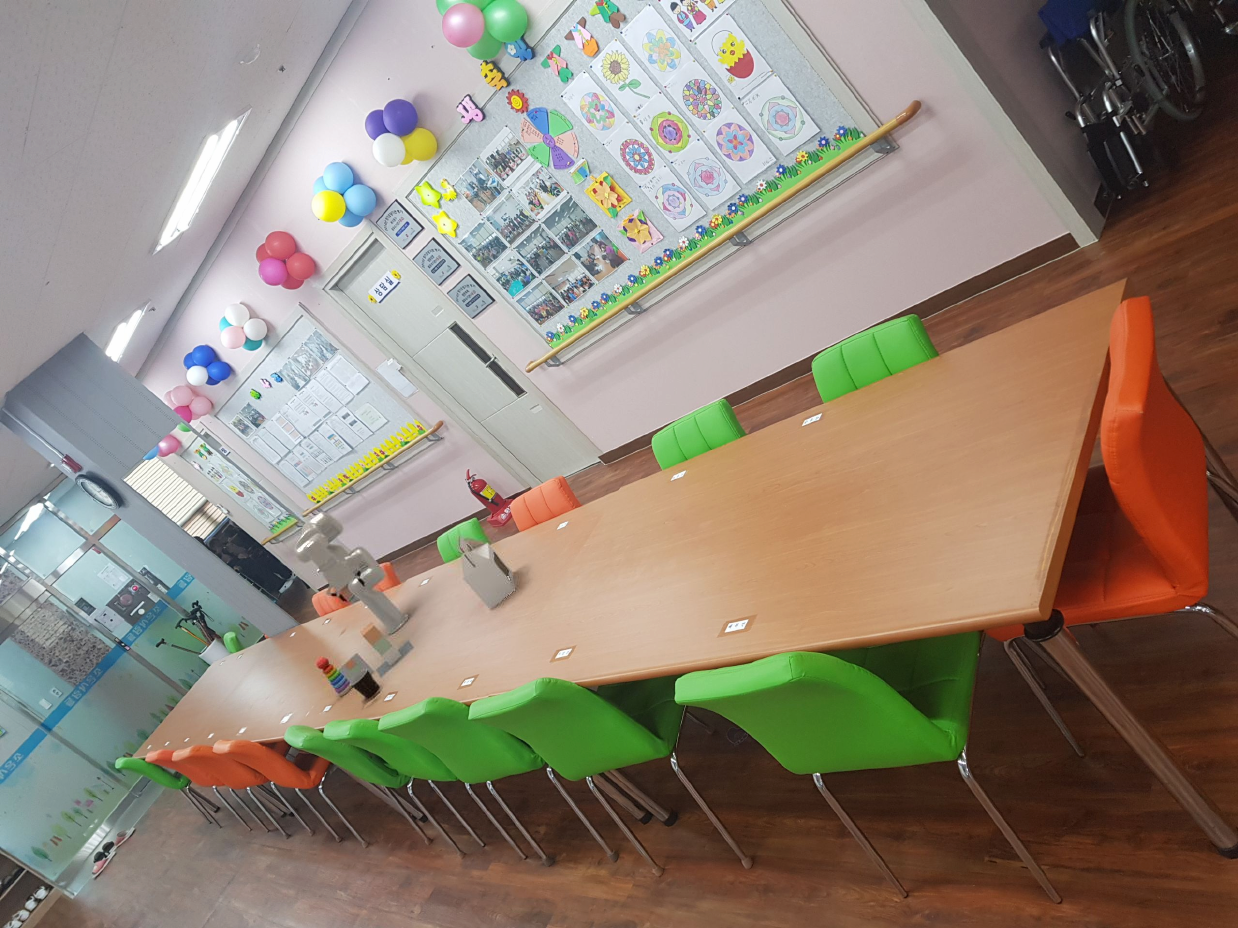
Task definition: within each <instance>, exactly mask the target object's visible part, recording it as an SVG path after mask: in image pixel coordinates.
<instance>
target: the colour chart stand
mask: <svg viewBox="0 0 1238 928" xmlns="http://www.w3.org/2000/svg"><path fill="white" fill-rule="evenodd" d="M365 669H367V670H368V671H369V673H370V674H371V675H372V674H373V672H374V671H375V670H374V669H373V668H372V667H371V666H370V665H369V664H368V663H367V662H366V661H365V660H364V659H363V658H362V657H361V655H359V654H358V653H357V652H355V653H354V654H353V655H352V656H351V657H350V658H348V659H347V660H346V661H345V662H344V663H343V664H342V665H341V666H339V667H338V668H337V670H339V671H340V673H342V674H343V675H344V677H345V678H346V679H347V680H348V681H349V682H350V683H351V681H352V680H353V678H354V677H355V676H356V675H357V674H358V673H360V672H361V671H363V670H365Z"/></svg>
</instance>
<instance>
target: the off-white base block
mask: <svg viewBox="0 0 1238 928" xmlns="http://www.w3.org/2000/svg"><path fill="white" fill-rule="evenodd" d="M401 656H402V655H401V654H400V653H399V651H398V649H397V648H396V647H395V646H394V645H393V646H392V647H391V648H390V649H389V650H388V651H386V652H385V653H384V654H383V655H382V656H381V658H383V659H384V660H385V661H387V662H388V664H389V665H390V666H391V665H392V664H393V663H395V662H396V661H397V660H398V659H399V658H400V657H401Z"/></svg>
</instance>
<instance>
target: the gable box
mask: <svg viewBox="0 0 1238 928" xmlns="http://www.w3.org/2000/svg"><path fill="white" fill-rule="evenodd" d="M457 553H459V554H462V555H461V557H460V558H461V566H462V567H461V568H462V575H463V576H462V579H463V581H464V582H466V584H467V585H468V586H469V587H470V588H471V590H472V591H473V592H474V594H476V595H477V596H478V599H480V600H481V601H482V603H483V604H485V606H486V607H487V609H489V610H492V609H494V608H495V607H496V606H498V605H499V604H500V603H502V600H503V599H504V598H505V597H507V596H508V595H509V594H510V593H511V592H513V591H514V590H516V591H517V588H516V589H515V587H516V582H515V577H514V578H513V576H514V572H513V571H512V570H511V568H510V567H509V566H508V565H507V564H506V562H505V561H504V560H503V559H502V558H501V557H500V556H499V554H498V553H497V552H496V551H495V550H494V548H493V547H492V546H491V545H490V544H489V542H485V541H480V540H477V539H473V538H470V537H469V538H463V536H462V535H459V537H458V539H457ZM507 576H509V578H510V580H509V579H508V577H507ZM514 582H515V583H514ZM513 593H514V592H513ZM509 596H510V595H509ZM509 596H508V597H509ZM508 597H507V598H508ZM505 599H506V598H505ZM505 599H504V600H505ZM504 600H503V601H504ZM498 603H499V604H498ZM497 604H498V605H497ZM494 606H495V607H494ZM493 607H494V608H493Z"/></svg>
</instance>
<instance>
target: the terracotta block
mask: <svg viewBox="0 0 1238 928" xmlns="http://www.w3.org/2000/svg"><path fill="white" fill-rule="evenodd" d="M360 633H361V636H362V637H363V638H364V639H365V640H366V642H367V643H369V644H370V645H371V647H373V645H374V644H375V643H376V642H377V641H378V640H379V639H380V638H382V637H383V635H384V634H383V633H382V632H381V630H379V629H378V627H377V626H376V625H375V624H374V623H373V622H370V623H368V624H367V625H366V626H365V627H364V628H363V629H361V630H360ZM382 634H383V635H382Z"/></svg>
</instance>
